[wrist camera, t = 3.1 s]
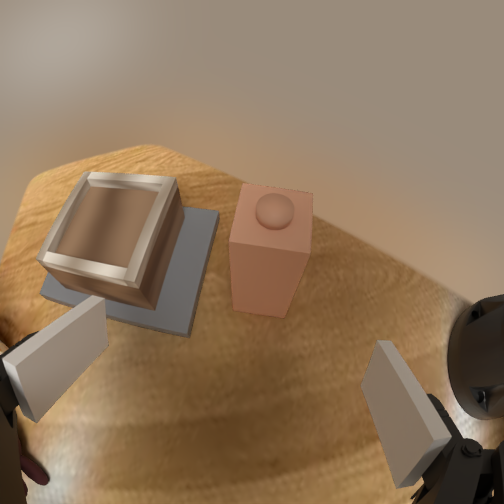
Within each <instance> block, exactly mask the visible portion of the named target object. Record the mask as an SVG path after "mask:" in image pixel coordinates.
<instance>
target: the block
mask: <svg viewBox="0 0 504 504" xmlns="http://www.w3.org/2000/svg"><path fill="white" fill-rule="evenodd" d="M312 213H313V193H308V192H301V191H295V190H289V189H282V188H275V187H268V186H261V185H254V184H246V183H243V184H242V188H241V192H240V196H239V200H238V204H237V208H236V212H235V216H234V221H233V225H232V229H231V233H230V238H229V257H230V274H231V290H232V305H233V311H239V312H245V313H252V314H258V315H265V316H272V317H279V318H285V316H286V313H287V311H288V309H289V306H290V304H291V301H292V299H293V297H294V294H295V292H296V289H297V287H298V284H299V282H300V279H301V277H302V274H303V272H304V269H305V267H306V264H307V262H308V259H309V257H310V254H311V238H312Z"/></svg>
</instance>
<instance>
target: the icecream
mask: <svg viewBox="0 0 504 504" xmlns="http://www.w3.org/2000/svg"><path fill="white" fill-rule="evenodd" d="M18 447H19V457H20V465H21V470H22V471H23V472H24V473H25V474H26V475H27V476H28V477H29V478H30V479H32V480H33V481H35V482H36V483H37V484H40V485H47V484H48V481H49V480H48V478H47V475H46V474H45V473H44V472H43V470H42V469H41V468H40V467H39V466H38V465H36V464H35V463H34V462H33V461H31V460H30V459H28V458H27V457H25V456H23V455H21V454H22V448H21V443H20V440H19V437H18ZM22 480H23V479H22ZM23 486H24V491H25V496H27V492H28V488H27V486H26V484H25V482H24V480H23Z"/></svg>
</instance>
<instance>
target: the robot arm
mask: <svg viewBox="0 0 504 504" xmlns="http://www.w3.org/2000/svg"><path fill="white" fill-rule="evenodd" d="M108 346H109V344H108V334H107V323H106V310H105V298H102V297H98V296H94V295H92V296H90V297H89V298H87V299H86V300H84V301H83V302H81V303H80V304H78V305H77V306H76V307H74V308H73V309H71V310H70V311H68V312H67V313H65V314H64V315H62V316H61V317H59V318H58V319H56V320H55V321H54V322H52V323H51V324H49V325H48V326H46V327H45V328H44V329H42V330H41V331H37V332H35V333H32V334H29V335H27V336H26V337H25V338H23V339H22V340H21V341H19V342H18V343H16V344H15V345H13V346H12V347H11V348H9V349H8V350H6V351H5V352H4V353H2V354H1V355H0V504H27V501H26V496H25V491H24V486H23V480H22V473H21V465H20V457H19V447H18V432H17V414H16V411H15V408H16V407H17V406H18V405H19V406H20V408H21V411H22V413H23V415H24V416H26V417H27V418H29V419H31V420H32V421H34V422H36V423H37V422H38V421H39V420H40V419H41V418H42V417H43V416H44V415H45V413H46V412H47V411H48V410H49V409H50V408H51V407H52V406H53V405H54V403H55V402H56V401H57V400H58V399H59V398H60V397H61V396H62V395H63V394H64V393H65V391H66V390H67V389H68V388H69V387H70V386H71V385H72V384H73V383H74V382H75V381H76V380H77V379H78V377H79V376H80V375H81V374H82V373H83V372H84V371H85V370H86V369H87V368H88V367H89V366H90V365H91V364H92V363H93V362H94V361H95V359H96V358H97V357H98V356H99V355H100V354H101V353H102V352H103V351H104V350H105V349H106V348H107V347H108ZM448 367H449V375H450V380H451V385H452V388H453V391H454V394H455V396H456V398H457V400H458V402H459V403H460V405H461V406H462V408H463V409H464V410H465V411H466V412H467V413H468V414H469V415H471V416H472V417H474V418H476V419H480V420H489V419H494V418H499V417H503V416H504V294H503V295H498V296H494V297H488V298H484V299H482V300H480V301H478V302H476V303H475V304H473V305H472V306H471V307H469V308H468V309H466V310H465V311H464V312H463V313H462V314H461V315H460V317H459V318H458V320H457V322H456V324H455V326H454V328H453V331H452V334H451V338H450V343H449V351H448ZM361 389H362V391H363V394H364V397H365V399H366V402H367V405H368V408H369V410H370V413H371V416H372V418H373V421H374V424H375V427H376V430H377V432H378V435H379V438H380V441H381V444H382V447H383V450H384V453H385V456H386V459H387V462H388V465H389V468H390V471H391V474H392V477H393V480H394V483H395V486H396V489H397V488H403V487H408V486H413V485H414V484H415V483H416V482H417V481H418V480H419V479H420V478H421V476H422V478H423V480H424V484H423V485H422V486H421V487H420V488H419V489H418V490H417V491H416V493H415V494H414V495H413V496H412V497H411V498H410V499H413V498H414V497H415V496H416V497H415V499H414V501H413V503H412V504H504V441H502V442H501V443H500V444H499V446H498V447H497V448H496V449H483V448H482V446H481V445H480V444H479V443H478V442H477V441H475V440H473V439H468V438H465V439H464V438H463V437H462V435H461V433H460V432H459V430H458V429H457V427H456V425H455V424H454V422H453V421H452V419H451V417H449V414H448V413H447V411H446V410H445V408H444V407H443V405H442V403H441V402H440V400H438V399H437V398H436V397H435V396H433V395H432V394H426V393H425V391H424V390H423V388H422V387H421V385H420V384H419V382H418V381H417V379H416V377H415V376H414V374H413V373H412V371H411V370H410V368H409V367H408V365H407V364H406V362H405V361H404V359H403V358H402V356H401V355H400V353H399V352H398V350H397V349H396V347H395V346H394V344H393V343H392V341H387V340H377V342H376V345H375V348H374V350H373V353H372V356H371V359H370V362H369V365H368V367H367V370H366V373H365V375H364V378H363V380H362V383H361ZM493 490H494V496H493V497H492V491H493Z"/></svg>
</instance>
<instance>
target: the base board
mask: <svg viewBox="0 0 504 504" xmlns="http://www.w3.org/2000/svg"><path fill="white" fill-rule="evenodd" d="M182 207H183V206H182ZM183 211H184V216H185V219H184V222H183V225H182V227H181V230H180V233H179V236H178V239H177V242H176V245H175V248H174V251H173V254H172V257H171V260H170V263H169V266H168V270H167V273H166V276H165V279H164V282H163V286H162V289H161V292H160V296H159V299H158V303H157V306H156V309H155V311H153V310H148V309H144V308H140V307H135V306H131V305H127V304H123V303H119V302H115V301H111V300H107V299H105V310H106V318H109V319H112V320H116V321H119V322H123V323H127V324H131V325H135V326H139V327H143V328H147V329H151V330H155V331H160V332H164V333H168V334H173V335H178V336H182V337H187V338H190V334H191V330H192V326H193V321H194V317H195V313H196V309H197V305H198V301H199V296H200V292H201V288H202V284H203V280H204V276H205V272H206V268H207V265H208V261H209V257H210V253H211V249H212V245H213V241H214V238H215V234H216V230H217V227H218V223H219V211H215V210H207V209H199V208H191V207H183ZM40 294H41V295H42V296H43V297H44V298H45V299H47V300H50V301H53V302H56V303H59V304H62V305H65V306H68V307H72V308H74V307H76V306H77V305H78V304H80V303H81V302H83V301H84V300H86V299H87V298H89V297H90V296H91V295H88V294H84V293H80V292H77V291H73V290H70V289H66V288H65V287H64V286H63V285H61V284H60V283H59V282H58V281H57V280H56V279H55V278H54V277H53V276H52V275H51V274H50V273H49V272H48V274H47V276H46V279H45V281H44V283H43V286H42V288H41V291H40Z"/></svg>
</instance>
